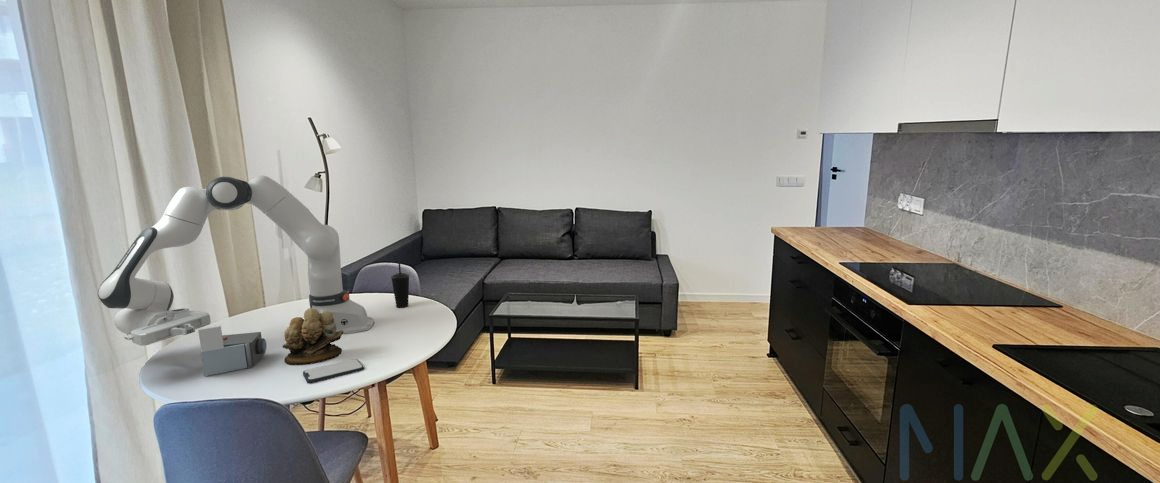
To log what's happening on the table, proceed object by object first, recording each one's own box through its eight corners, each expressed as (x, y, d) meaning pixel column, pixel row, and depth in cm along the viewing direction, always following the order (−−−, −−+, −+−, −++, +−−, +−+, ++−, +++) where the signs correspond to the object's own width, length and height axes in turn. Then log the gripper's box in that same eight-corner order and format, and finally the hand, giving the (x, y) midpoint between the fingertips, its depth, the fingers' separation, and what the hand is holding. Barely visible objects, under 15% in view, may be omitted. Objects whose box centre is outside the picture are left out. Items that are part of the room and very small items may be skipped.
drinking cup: (405, 309, 217) (402, 263, 213) (389, 308, 218) (385, 262, 214) (415, 304, 224) (412, 259, 220) (399, 303, 226) (395, 258, 222)
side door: (252, 366, 163) (246, 321, 160) (252, 367, 162) (246, 322, 159) (204, 375, 156) (197, 328, 154) (204, 377, 155) (196, 330, 153)
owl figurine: (343, 345, 179) (339, 298, 176) (346, 358, 169) (342, 308, 166) (284, 355, 171) (278, 306, 168) (283, 369, 161) (277, 317, 157)
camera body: (270, 353, 172) (267, 329, 171) (261, 365, 163) (258, 340, 162) (219, 359, 168) (215, 334, 167) (207, 371, 159) (203, 345, 158)
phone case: (357, 362, 167) (302, 375, 157) (357, 357, 167) (301, 370, 157) (365, 372, 160) (308, 385, 151) (364, 367, 160) (307, 380, 150)
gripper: (118, 327, 150) (150, 332, 146) (190, 306, 169) (221, 310, 165) (122, 347, 152) (154, 353, 147) (193, 324, 171) (223, 329, 166)
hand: (190, 330), depth 156 cm, fingers closed
